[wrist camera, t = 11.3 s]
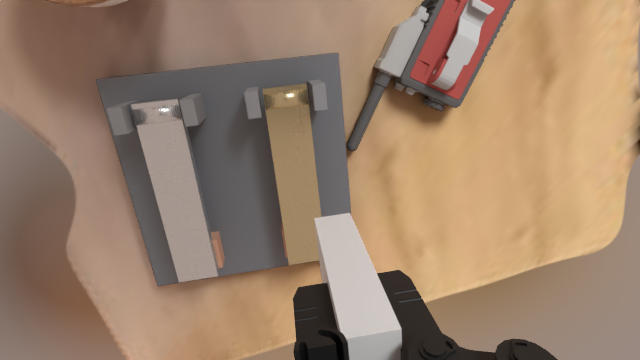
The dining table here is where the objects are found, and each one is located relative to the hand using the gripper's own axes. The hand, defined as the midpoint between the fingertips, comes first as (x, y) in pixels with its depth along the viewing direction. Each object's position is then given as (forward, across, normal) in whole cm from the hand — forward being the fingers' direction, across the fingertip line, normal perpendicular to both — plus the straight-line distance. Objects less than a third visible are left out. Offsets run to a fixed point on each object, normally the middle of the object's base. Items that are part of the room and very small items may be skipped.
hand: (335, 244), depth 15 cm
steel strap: (+17, -11, -3) cm, 21 cm away
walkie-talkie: (+22, +12, +4) cm, 26 cm away
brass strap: (+17, -1, -3) cm, 18 cm away
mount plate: (+21, -6, -3) cm, 22 cm away
